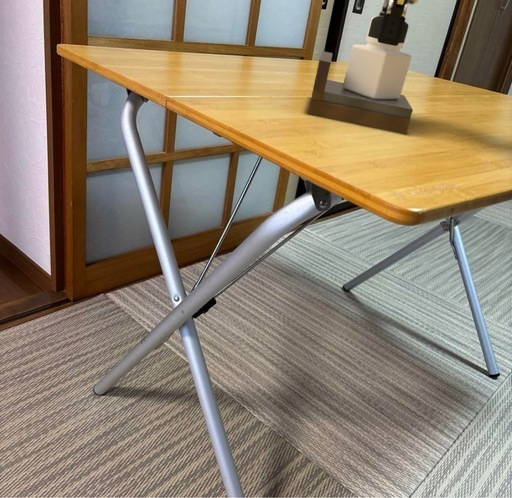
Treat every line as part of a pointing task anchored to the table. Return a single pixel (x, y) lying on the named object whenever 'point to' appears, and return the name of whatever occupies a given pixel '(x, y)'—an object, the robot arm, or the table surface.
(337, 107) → the l-shaped brown block
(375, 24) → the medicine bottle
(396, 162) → the table surface
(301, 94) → the table surface
